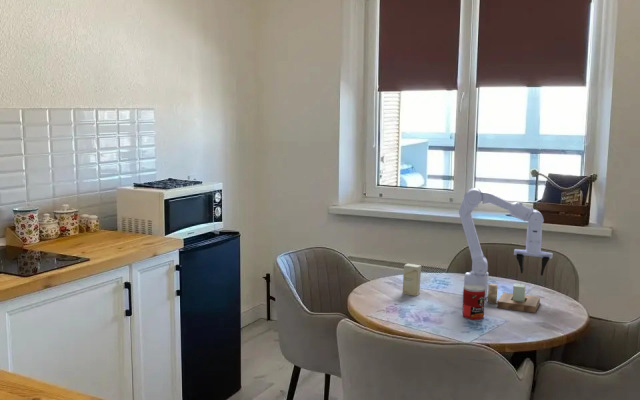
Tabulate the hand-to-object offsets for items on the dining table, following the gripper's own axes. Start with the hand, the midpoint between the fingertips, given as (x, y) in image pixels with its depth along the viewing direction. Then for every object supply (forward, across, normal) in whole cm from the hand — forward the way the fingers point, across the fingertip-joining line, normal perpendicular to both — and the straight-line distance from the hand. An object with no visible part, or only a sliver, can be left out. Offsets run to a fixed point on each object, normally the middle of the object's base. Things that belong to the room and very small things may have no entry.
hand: (531, 273), depth 246 cm
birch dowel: (+10, -13, -12) cm, 21 cm away
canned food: (+11, -16, -33) cm, 38 cm away
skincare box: (+11, -45, -16) cm, 49 cm away
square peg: (+10, -3, -11) cm, 16 cm away
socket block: (+10, -3, -11) cm, 15 cm away
